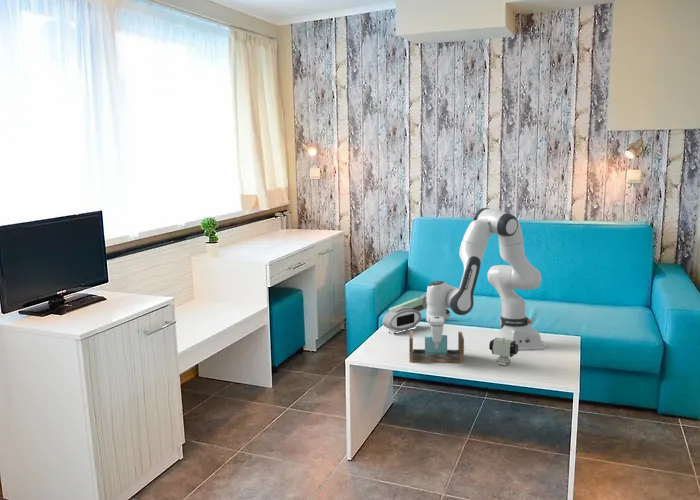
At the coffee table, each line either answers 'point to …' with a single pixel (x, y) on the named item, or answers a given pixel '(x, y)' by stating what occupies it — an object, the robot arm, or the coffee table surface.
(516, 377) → the coffee table surface
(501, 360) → the pneumatic valve
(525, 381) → the coffee table surface
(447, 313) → the ray gun
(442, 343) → the door panel
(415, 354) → the cabinet base
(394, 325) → the alarm clock
